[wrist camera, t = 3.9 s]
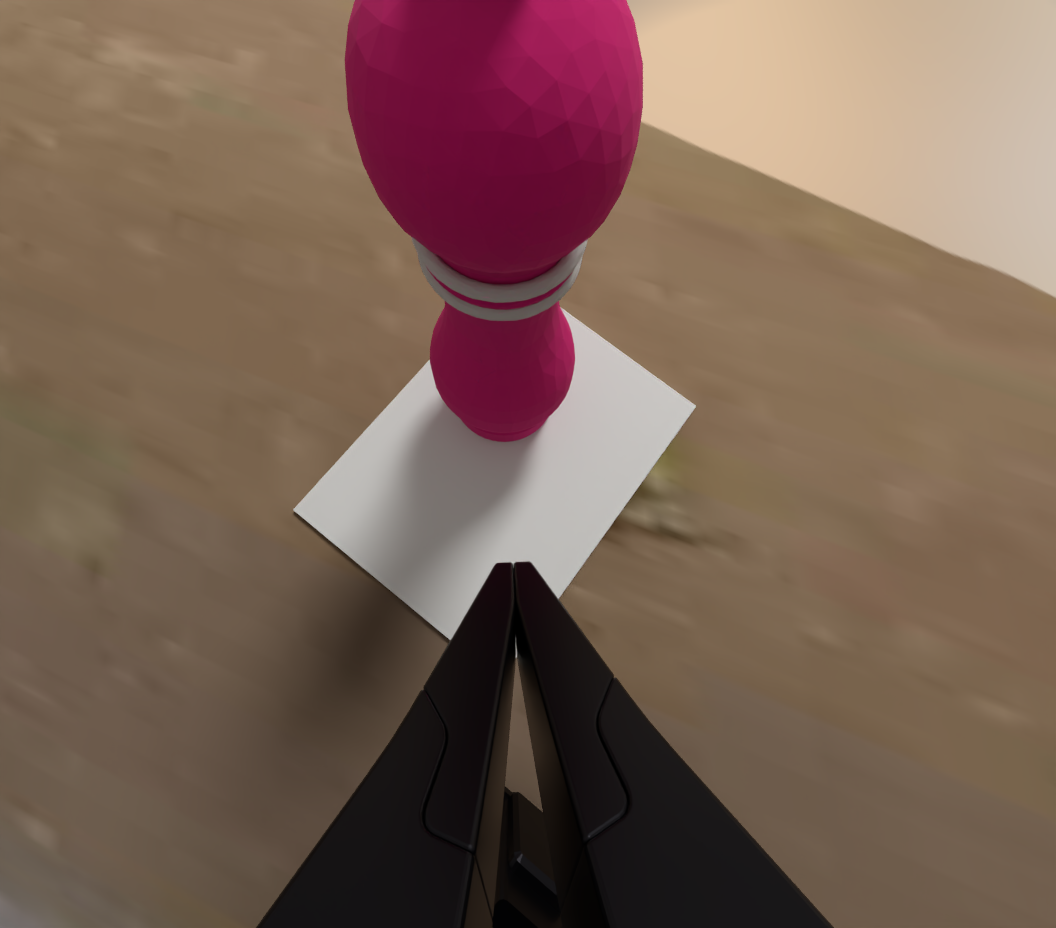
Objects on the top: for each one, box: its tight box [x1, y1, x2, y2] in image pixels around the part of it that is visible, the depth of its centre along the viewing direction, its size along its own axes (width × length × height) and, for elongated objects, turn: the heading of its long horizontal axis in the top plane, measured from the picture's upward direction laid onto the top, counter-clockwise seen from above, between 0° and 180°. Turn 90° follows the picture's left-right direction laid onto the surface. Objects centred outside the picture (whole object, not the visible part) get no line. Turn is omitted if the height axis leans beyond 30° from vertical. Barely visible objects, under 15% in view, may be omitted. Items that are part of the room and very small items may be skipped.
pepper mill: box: [345, 0, 643, 442], centre depth 14 cm, size 7×7×20 cm
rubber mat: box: [293, 307, 696, 658], centre depth 23 cm, size 20×15×1 cm
